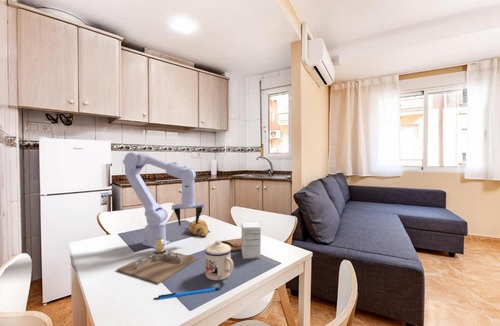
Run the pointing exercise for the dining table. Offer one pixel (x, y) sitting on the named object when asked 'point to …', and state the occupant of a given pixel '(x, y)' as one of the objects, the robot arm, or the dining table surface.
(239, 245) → the sunglasses case
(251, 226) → the supplement box
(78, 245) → the dining table surface
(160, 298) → the pen
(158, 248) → the brass pin
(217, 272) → the teacup with lid
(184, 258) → the board
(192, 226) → the croissant
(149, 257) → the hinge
